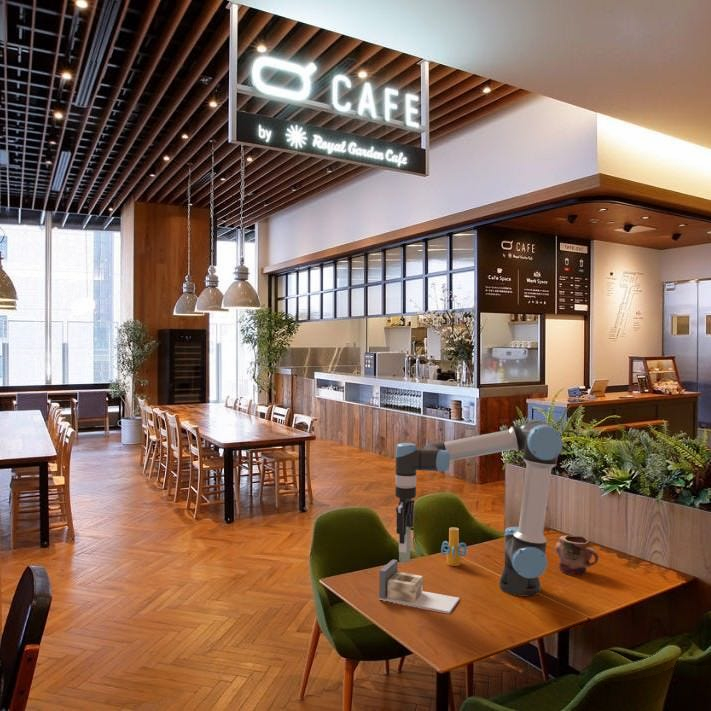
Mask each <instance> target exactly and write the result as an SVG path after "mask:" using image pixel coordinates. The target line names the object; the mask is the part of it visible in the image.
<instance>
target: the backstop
mask: <svg viewBox="0 0 711 711" xmlns="http://www.w3.org/2000/svg"><path fill="white" fill-rule="evenodd" d="M398 561H399V559H391V560H390V561H388V563H386V565H384V566H383V567H382V568H380V569H379V589H378V590H379V599H378V600H379V601H380V600H383V601H382V602H385V601H389V602H388V603H390V602H393V603H392V604H396V603H397V605H401V604H402V605H401V606H406V605H407V606H406V607H411V606H412V607H411V608H416V607H417V609H422V610H427V611H433V612H438V613H444V614H448V615H450V614H451V612H452V611H453V610H454V608H456V606H457V604H458V603H459V602H460V597H458V596H457V597H456V596H451V595H447V594H446V595H445V594H440V593H436V592H435V593H434V592H429V591H424V590H423V592H422V593H421V595H420V596H419V597H418V598H417V599H416V600H415V601H414V602H409V601H404V600H399V599H394V598H388V597H387V583H388V580H389V579H390V578H391V577H392V576H393V575H394V574H395V573H397V572H399V570H398V567H399V566H398V565H399V564H398V563H399V562H398ZM457 602H458V603H457Z"/></svg>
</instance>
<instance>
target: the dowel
mask: <svg viewBox="0 0 711 711" xmlns="http://www.w3.org/2000/svg"><path fill="white" fill-rule="evenodd" d="M410 531H411V532H412V530H411V528H410V527H408V526H406V534H407V552H406V553H405V552H399V551H398V561H399V562H400V563H409V562H411V549H410Z"/></svg>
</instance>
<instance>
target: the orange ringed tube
mask: <svg viewBox="0 0 711 711" xmlns="http://www.w3.org/2000/svg"><path fill="white" fill-rule="evenodd" d="M459 530H460V528H458V527H449V529H448V541H447V540H444V541H443V542H442V544H441V548H440V552H441V554H442V555H444V556H446V562H445V563H446V565H447V566H450V567H459V566H461V564H462V563H461V562H462V557H465V556H466V554H467V544H466V542H459V541H460V538H459V536H460V535H459V533H460V532H459ZM446 547H447V549H446ZM461 548H462V550H461ZM444 551H445V552H444Z"/></svg>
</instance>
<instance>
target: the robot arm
mask: <svg viewBox="0 0 711 711" xmlns="http://www.w3.org/2000/svg"><path fill="white" fill-rule="evenodd" d="M395 448H396V449H395V476H394V479H395V485H396V486H395V490H394V491H395V493H394V494H395V497H396V498H398V499H399V501H398V506H395V507H396V508H395V511H396V535H398V553H399V552H405V553H406V552H407V534H406V526H408V527H410V528H411V531H410V550H411V548H412V531H414V530H415V529H414V514H415V500H414V499H415V498H416V497H417V487H416V486H417V471H430V472H431V471H433V472H446V471H449V470H450V463H451V462H453V461H457V460H463V459H468V458H473V457H475V458H476V457H479V456H485V455H491V454H496V453H502V452H508V451H512V450H513V451H515V452H517V453H518V452H521V451H522V452H523V456H522V460H523V461H524V463H525V464H526V468H525V474H524V481H523V482H524V483H523V484H524V485H523V490H522V499H521V504H520V515H519V523H518V526H509V527H506V528H505V530H504V535H503V536H504V567H503V569H502V572H501V575H500V577H499V588H500V590H502V591H503V592H504V591H505V593H506V592H507V594H509V593H511V594H510V595H513V594H516V595H515V596H518V595H533V596H535V595H534V594H537V593H539V592H540V591H541V590H542V589H541V588H542V587H541V586H542V584H541V582H540V578H539V577H540V576H541V575H543V574H544V573H545V571H546V569H547V567H548V558H547V556H546V548H547V542H548V541H547V540H548V539H547V538H546V537H545V536H544V528H545V523H546V514H547V504H548V498H549V490H550V484H551V474H552V469H553V468H554V467H556V466H557V464H558V456H559V455H560V453H561V452H562V450H563V439H562V436H561V434H560V433H559V431H558V430H557V429H556V428H555V427H554V426H552V425H550V424H548V423H545V422H543V421H539V420H536V421H535V420H534V421H530V422H525V423H522V424H518V425H513V426H510V428H509V429H505V430H501V431H495V432H491V433H485V434H484V433H483V434H479V435H475V436H469V437H464V438H463V437H462V438H459V439H458V438H457V439H453V440H448V441H444V442H438V443H435V442H429V443H427V444H426V445H425V446H424V447H423V449H419V448H417V444H416V443H413V442H401V443H398V444H397V445H396V447H395ZM540 593H541V592H540ZM540 593H539V594H540ZM537 595H538V594H537Z"/></svg>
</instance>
